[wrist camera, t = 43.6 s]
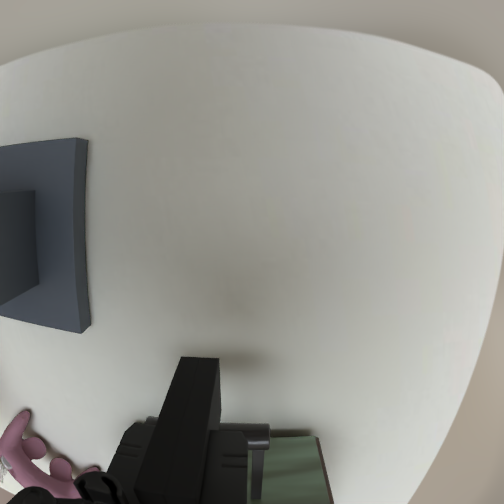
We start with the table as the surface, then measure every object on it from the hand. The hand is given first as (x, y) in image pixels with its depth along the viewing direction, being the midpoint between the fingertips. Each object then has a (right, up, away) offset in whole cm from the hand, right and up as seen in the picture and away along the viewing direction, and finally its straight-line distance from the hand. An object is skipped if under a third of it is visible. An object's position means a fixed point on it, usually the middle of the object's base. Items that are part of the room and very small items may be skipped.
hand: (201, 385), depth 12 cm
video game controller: (-17, -14, +11) cm, 24 cm away
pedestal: (-14, +7, +6) cm, 17 cm away
